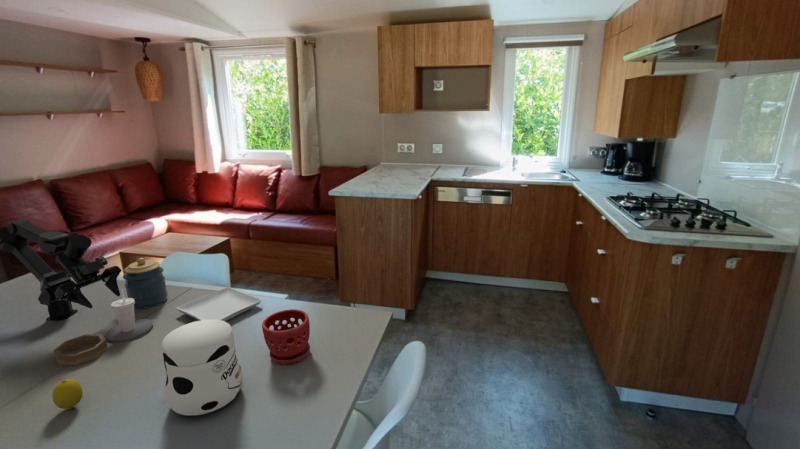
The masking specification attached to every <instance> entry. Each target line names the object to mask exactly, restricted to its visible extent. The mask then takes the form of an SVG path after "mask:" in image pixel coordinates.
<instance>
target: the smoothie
mask: <svg viewBox="0 0 800 449" xmlns="http://www.w3.org/2000/svg"><path fill="white" fill-rule="evenodd" d="M120 292H121V295H122V298H120V299H118V300H115V301H113V302H111V304H110V307H111V309H112V310H113V312H114V315H115V318H116V320H117V324H119V325H120V328H121V330H122V331H123V332H128V331H131V330H133V329H134V328H135V319H136V318H135V317H136V316H135V308H134V303H135V301H134V299H133V298H128V297H126V296H125V293H124V289H123V288H122V289H121V290H120Z"/></svg>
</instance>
